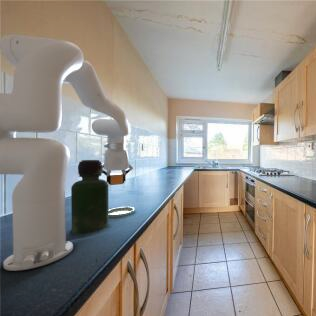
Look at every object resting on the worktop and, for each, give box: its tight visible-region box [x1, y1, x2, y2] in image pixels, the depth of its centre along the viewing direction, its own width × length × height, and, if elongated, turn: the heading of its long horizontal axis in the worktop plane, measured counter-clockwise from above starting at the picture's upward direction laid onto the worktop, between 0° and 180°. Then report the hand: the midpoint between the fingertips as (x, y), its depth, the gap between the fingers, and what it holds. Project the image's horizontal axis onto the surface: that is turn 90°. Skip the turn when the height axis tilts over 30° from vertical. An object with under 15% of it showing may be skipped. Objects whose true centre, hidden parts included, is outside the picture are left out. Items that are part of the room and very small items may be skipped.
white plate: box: [108, 206, 135, 218], centre depth 83 cm, size 11×11×2 cm
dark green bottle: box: [70, 159, 109, 235], centre depth 66 cm, size 10×10×25 cm
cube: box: [109, 172, 124, 186], centre depth 92 cm, size 5×5×5 cm
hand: (116, 183), depth 92 cm, fingers closed on cube, 5 cm apart
